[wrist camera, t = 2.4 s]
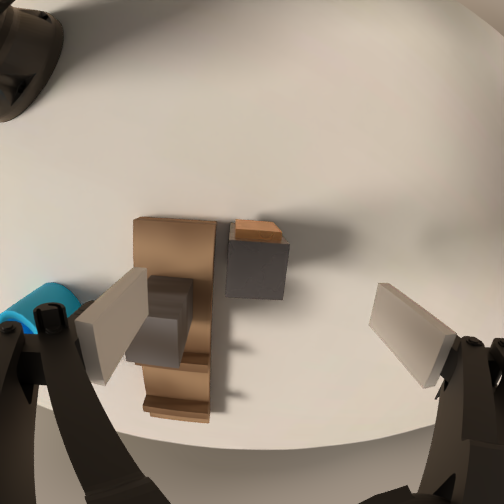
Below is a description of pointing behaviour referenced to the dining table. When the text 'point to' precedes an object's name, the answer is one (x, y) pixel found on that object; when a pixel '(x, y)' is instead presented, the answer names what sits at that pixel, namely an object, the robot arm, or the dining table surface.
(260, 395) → the dining table surface
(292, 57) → the dining table surface
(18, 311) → the mug
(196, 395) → the rail
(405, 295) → the robot arm
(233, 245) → the dark grey upright block
